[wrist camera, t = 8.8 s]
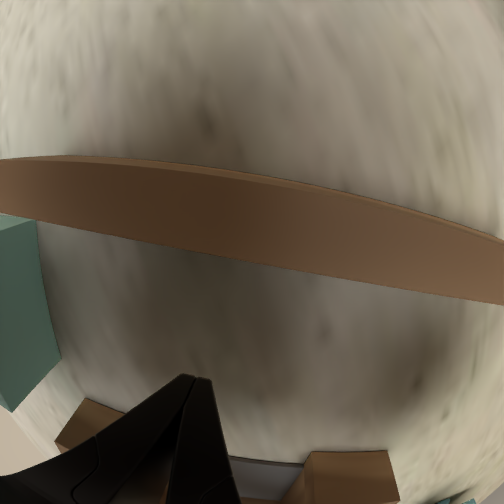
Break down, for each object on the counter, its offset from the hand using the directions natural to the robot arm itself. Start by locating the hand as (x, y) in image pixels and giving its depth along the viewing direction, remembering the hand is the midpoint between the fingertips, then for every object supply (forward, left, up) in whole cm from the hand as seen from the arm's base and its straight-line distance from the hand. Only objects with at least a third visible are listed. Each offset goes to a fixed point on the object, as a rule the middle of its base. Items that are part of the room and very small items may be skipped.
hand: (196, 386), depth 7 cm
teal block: (0, +10, -2) cm, 10 cm away
